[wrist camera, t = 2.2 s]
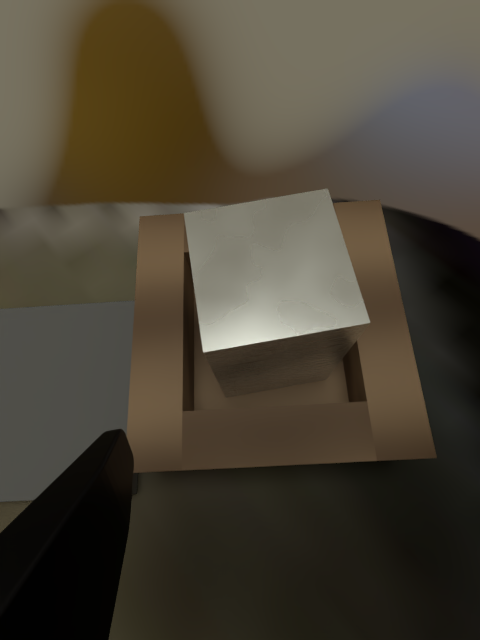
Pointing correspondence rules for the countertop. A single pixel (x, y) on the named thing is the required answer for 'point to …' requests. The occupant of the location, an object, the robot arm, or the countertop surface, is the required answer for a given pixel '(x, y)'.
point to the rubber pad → (60, 388)
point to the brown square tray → (276, 404)
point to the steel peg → (273, 291)
